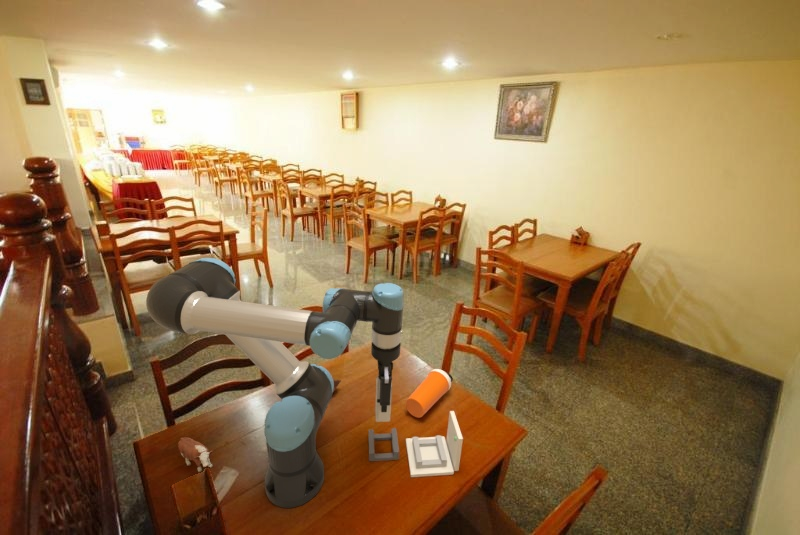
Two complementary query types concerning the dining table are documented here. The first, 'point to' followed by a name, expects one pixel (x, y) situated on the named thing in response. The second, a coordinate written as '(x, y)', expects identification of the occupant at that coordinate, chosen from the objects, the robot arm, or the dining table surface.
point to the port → (436, 452)
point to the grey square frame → (388, 436)
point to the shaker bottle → (428, 392)
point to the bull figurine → (194, 452)
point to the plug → (378, 403)
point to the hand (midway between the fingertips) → (382, 411)
